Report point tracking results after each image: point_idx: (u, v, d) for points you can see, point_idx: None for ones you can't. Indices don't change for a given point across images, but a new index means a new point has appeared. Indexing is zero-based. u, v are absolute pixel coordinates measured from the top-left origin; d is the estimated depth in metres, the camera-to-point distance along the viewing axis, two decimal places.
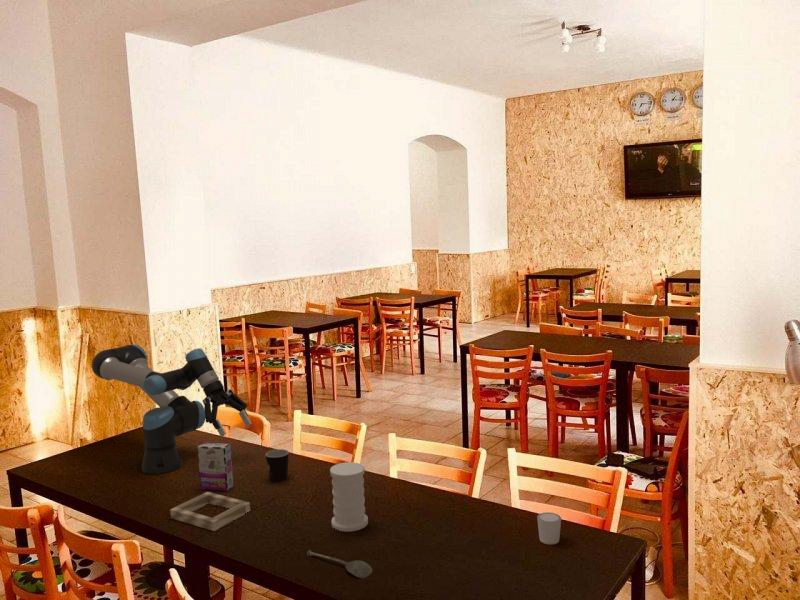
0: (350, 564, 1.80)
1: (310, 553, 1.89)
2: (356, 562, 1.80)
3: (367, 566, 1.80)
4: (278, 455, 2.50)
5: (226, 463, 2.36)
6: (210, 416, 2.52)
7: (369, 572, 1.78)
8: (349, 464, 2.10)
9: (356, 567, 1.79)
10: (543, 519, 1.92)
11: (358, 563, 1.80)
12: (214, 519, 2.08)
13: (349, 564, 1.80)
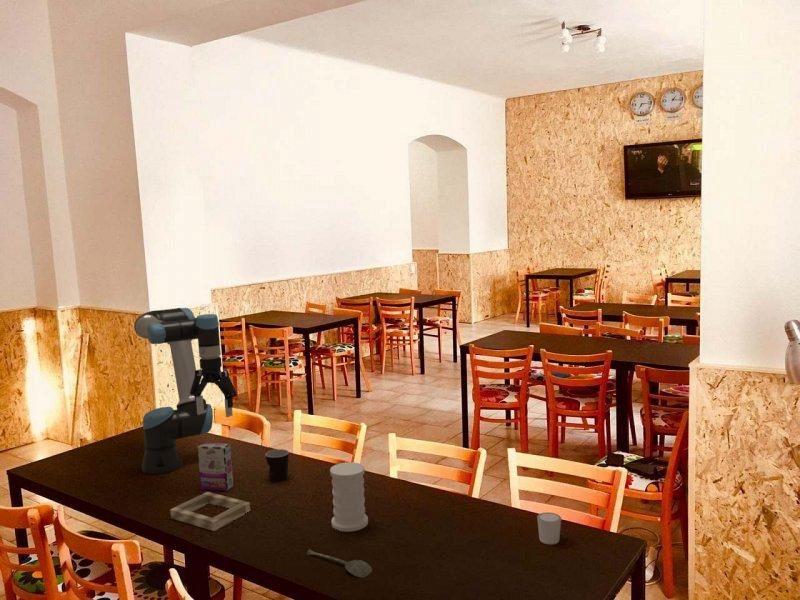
0: (349, 564, 1.80)
1: (310, 552, 1.89)
2: (355, 562, 1.81)
3: (366, 566, 1.80)
4: (278, 455, 2.50)
5: (226, 463, 2.36)
6: (191, 391, 2.42)
7: (368, 572, 1.79)
8: (349, 464, 2.10)
9: (355, 566, 1.79)
10: (543, 519, 1.92)
11: (357, 563, 1.80)
12: (214, 519, 2.08)
13: (348, 563, 1.80)
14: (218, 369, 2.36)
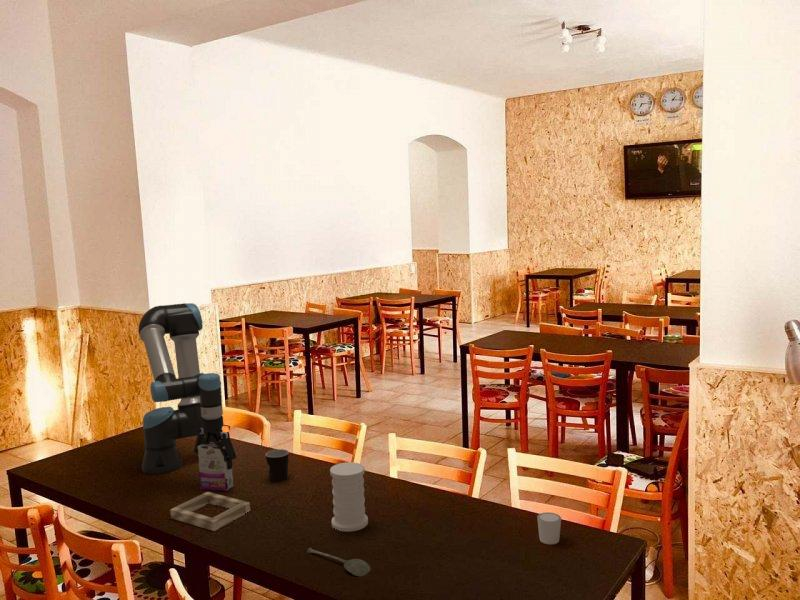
0: (348, 562, 1.81)
1: (310, 550, 1.90)
2: (354, 560, 1.81)
3: (365, 565, 1.81)
4: (278, 455, 2.50)
5: None
6: (195, 449, 2.42)
7: (367, 571, 1.79)
8: (349, 464, 2.10)
9: (354, 565, 1.80)
10: (543, 519, 1.92)
11: (356, 561, 1.81)
12: (214, 519, 2.08)
13: (347, 562, 1.81)
14: (220, 429, 2.36)
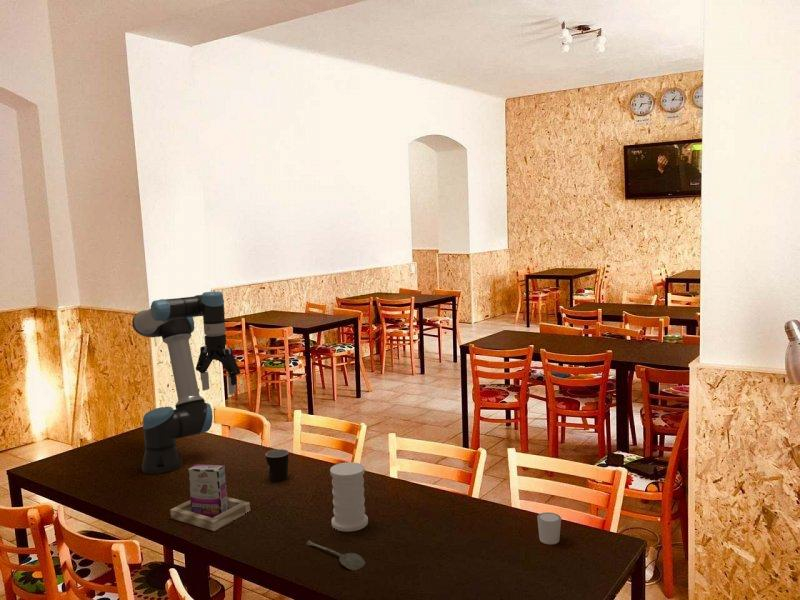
0: (343, 556, 1.84)
1: (310, 543, 1.95)
2: (349, 554, 1.85)
3: (360, 559, 1.84)
4: (278, 455, 2.50)
5: (220, 487, 2.15)
6: (197, 367, 2.44)
7: (361, 565, 1.82)
8: (349, 464, 2.10)
9: (348, 559, 1.83)
10: (543, 519, 1.92)
11: (351, 555, 1.84)
12: (214, 519, 2.08)
13: (343, 556, 1.85)
14: (222, 346, 2.37)
